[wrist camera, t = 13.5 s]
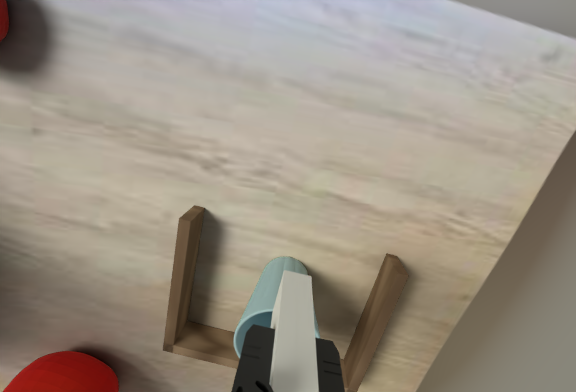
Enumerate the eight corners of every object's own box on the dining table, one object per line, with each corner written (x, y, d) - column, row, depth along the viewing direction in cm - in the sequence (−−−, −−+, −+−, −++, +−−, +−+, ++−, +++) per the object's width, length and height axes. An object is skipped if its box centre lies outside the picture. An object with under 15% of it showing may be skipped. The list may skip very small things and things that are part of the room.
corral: (177, 325, 37) (162, 350, 33) (194, 205, 32) (179, 218, 28) (349, 368, 37) (354, 397, 34) (396, 256, 32) (408, 275, 28)
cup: (265, 307, 35) (250, 384, 25) (245, 256, 33) (220, 319, 23) (322, 295, 34) (330, 371, 24) (306, 241, 32) (306, 301, 22)
